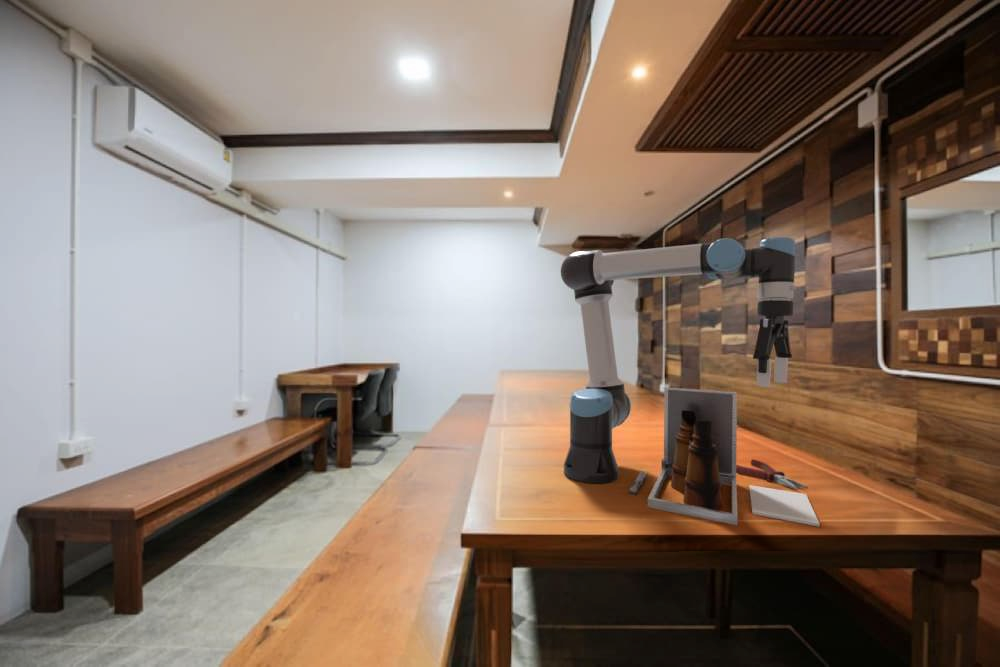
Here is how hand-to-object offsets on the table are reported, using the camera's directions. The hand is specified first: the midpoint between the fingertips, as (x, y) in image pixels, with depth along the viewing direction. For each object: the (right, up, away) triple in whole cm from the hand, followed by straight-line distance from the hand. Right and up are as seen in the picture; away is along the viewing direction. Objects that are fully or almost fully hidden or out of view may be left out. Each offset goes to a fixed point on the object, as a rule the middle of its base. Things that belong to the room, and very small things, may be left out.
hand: (772, 384), depth 105 cm
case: (-21, -27, -2) cm, 34 cm away
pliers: (+4, -28, +11) cm, 31 cm away
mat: (-3, -27, -7) cm, 29 cm away
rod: (-32, -27, +5) cm, 43 cm away
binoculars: (-21, -28, -2) cm, 34 cm away
